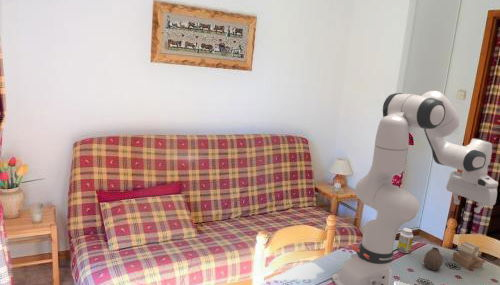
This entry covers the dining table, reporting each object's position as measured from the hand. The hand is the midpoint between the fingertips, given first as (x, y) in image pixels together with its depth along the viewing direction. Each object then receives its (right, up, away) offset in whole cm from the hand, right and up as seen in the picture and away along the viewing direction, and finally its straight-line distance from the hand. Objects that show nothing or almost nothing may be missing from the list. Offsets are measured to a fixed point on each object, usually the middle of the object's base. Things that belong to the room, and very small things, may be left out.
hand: (466, 208), depth 159 cm
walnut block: (+2, -25, +4) cm, 25 cm away
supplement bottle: (-22, -21, +11) cm, 33 cm away
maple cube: (+2, -21, +3) cm, 21 cm away
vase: (-16, -25, -3) cm, 30 cm away
